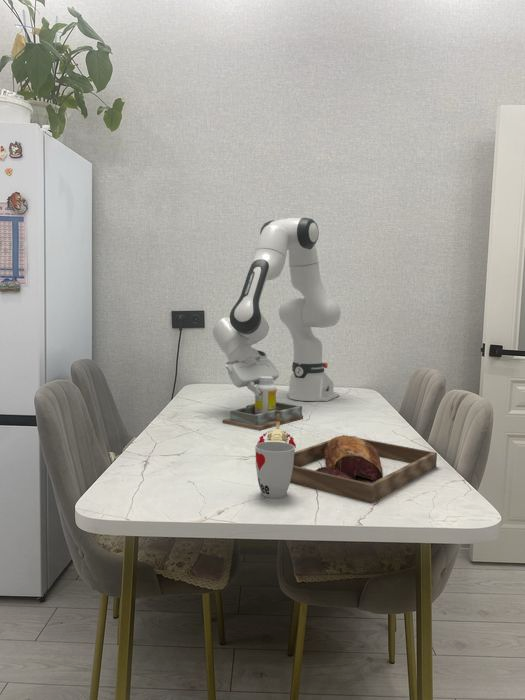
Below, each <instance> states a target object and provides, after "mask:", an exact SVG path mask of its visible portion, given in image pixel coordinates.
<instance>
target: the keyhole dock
mask: <svg viewBox="0 0 525 700" xmlns="http://www.w3.org/2000/svg"><path fill="white" fill-rule="evenodd" d="M277 414H280V426H282V425H285V424H287V423H292V422H295V421H299V420H303V419H304V415H303V406H302V405H296V404H289V403H285V402H284V403H283V402H277V401H276V410H273V411H269V412H265V413H261V414H257V415H255V403H253V404H248V405H245V407H243V408H237V409H233V410H230V411H229V417H228V418H225V419H222V421H221V423H222V424H226V425H231V426H235V427H236V426H237V427H240V428H241V427H242V428H246V429H249V430H250V429H251V430H254V431H255V430H256V431H263V430H266V429H270V428H273V427H276V422H277Z"/></svg>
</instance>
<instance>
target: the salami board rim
mask: <svg viewBox="0 0 525 700" xmlns="http://www.w3.org/2000/svg"><path fill="white" fill-rule="evenodd" d="M342 436H346V435H345V434H344V435H342ZM358 438H359V439H361V440H364V441H365V442H367V443H369V444H371V445H372V446H373V447H374V448H375V449H376V451H377V452H378V455H379V458H380V457H381V458H386V459H390V460H394V461H398V462H399V461H400V462H404V463H405V462H406V463H408V464H407V465H405V466H403V467H401V468H399V469H397V470H395V471H393V472H391V473H389V474H387V475H385V476H383V478H381V479H379V480H377V481H375V482H374V481H373V482H371V483H369V482H364V481H360V480H356V479H355V480H352V479H348V478H344V477H340V476H335V475H331V474H327V473H323V472H319V471H315V470H313V469H309V468H306V467H302V466H304V465H307V464H309V463H313V462H315V461H318V460H320V459H323V458H325V453H324V452H325V449H324V448H327V444H328V442H329V440H330V439H329V440H326V441H325V440H324V441H323V442H320V443H317V444H314V445H312V446H308V447H305V448H302V449H300V450H297V451H295V452H294V463H293V470H292V475H291V480H290V483H292V484H296V485H300V486H305V487H308V488H312V489H317V490H319V491H324V492H328V493H331V494H335V495H338V496H342V497H346V498H350V499H354V500H358V501H363V502H366V503H370V504H373V503H374V502H375V503H376V502H377V501H379V499H382V498H384V497H386V496H387V495H389V494H391V493H392V492H395V491H396V490H398V489H400V488H401V487H403V486H406V485H407V484H408V483H410V482H412V481H414V480H416V479H417V478H419V477H421V476H422V475H424V474H426V473H428V472H429V471H432V470H433V469H435V468H437V463H438V462H437V456H438V453H437V452H436V451H429V450H425V449H419V448H415V447H410V446H409V447H408V446H404V445H399V444H398V445H397V444H394V443H393V444H391V443H387V442H382V441H376V440H371V439H366V438H361V437H358Z"/></svg>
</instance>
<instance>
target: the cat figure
mask: <svg viewBox="0 0 525 700" xmlns="http://www.w3.org/2000/svg"><path fill="white" fill-rule="evenodd" d="M280 427H281V425H280V414H277V422H276V426H275V429H270V430H269V431H268V430H267V432H265V433H263V435H260V437H259V440H258V441H257V443H256V445H257V444H259V443H262V442H265V438H264V437H266V435H267V439H269V440H267V441H266V442H284V443H287V442H286V440H287V439H288V443H289V444H292V445H294V446H295V449H296V448H297V447H296V446H297V444H296V442H295V441H294V437H293V436H291V434H290V433H287V430H281V428H280Z"/></svg>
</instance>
